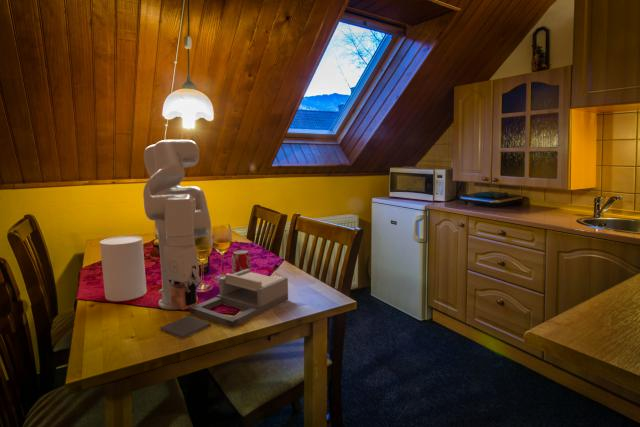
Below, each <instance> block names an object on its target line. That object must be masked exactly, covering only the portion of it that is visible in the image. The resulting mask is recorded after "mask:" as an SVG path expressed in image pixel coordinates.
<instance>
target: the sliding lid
mask: <svg viewBox="0 0 640 427" xmlns="http://www.w3.org/2000/svg"><path fill="white" fill-rule="evenodd" d="M224 277H225V282H226V283H227V284H230V285H234V286H238V287H242V288H246V289H250V290H253V291H257V288H260V287H262V286H264V285H267V284H269V283H272V282H274V281H276V280H279V279H280V278H278V277H273V276H271V275H270V276H268V275H264V274H262V273H261V274H260V273H257V272H252V271H251V272H249V273H246V274H243V275H240V276H237V275H233V274H232V273H229V272H227V273H225V274H224Z"/></svg>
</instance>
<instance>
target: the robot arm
mask: <svg viewBox="0 0 640 427" xmlns="http://www.w3.org/2000/svg"><path fill="white" fill-rule="evenodd" d="M199 149H200V148H199V147H198V144H197V143H196V142H195V141H193V140H191V139H163V140H160V141H157V142H156V143H155V144H151V145H149V146H146V148H145V150H144V151H143V161H144V166H145V169H146V172H147V174H148V175H149V178H148V179H147V181H146V183H145V185H144V187H143V192H142V197H143V208H144V213H145V216H146V218H147V219H148V220H150V221H153V222H154V228H155V232H156V236H157V237H156V238H157V242H158V248H159V258H160V272H161V289H159V290H158V294H160V295H161V298H160V299H159V300H158V302H157V303H158V307H159V308H161V309H163V310H171V311H172V310H180V309H179V308H176V307H173V306H172V300H171V286H173V285H176V284H179V283H185V287H186V291H187V292H185V300H186V306H189V305H192V304H194V303H196V291H195V290H197V289H198V287H199V286H200V284H202V279H201V277H200V267H199V266H200V265H199V259H198V254H197V249H196V242H195V238H203V237H206V236H209V235H210V233H211V231H212V223H211V222H212V221H211V217H210V212H209V207H208V204H207V200H206V196H205V193H204V190H203V189H202V188H201V187H199V186H181V182H183V180H184V178H185V175H186V174H185V169H184V168H192V167H195V166H196V165H198V163H199V161H200V150H199ZM189 283H192V284H191V285H190V286H189ZM198 301H199V299H198V296H197V302H198Z"/></svg>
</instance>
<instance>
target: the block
mask: <svg viewBox="0 0 640 427" xmlns="http://www.w3.org/2000/svg"><path fill="white" fill-rule="evenodd" d="M191 284H192V283H189V286H190V285H191ZM195 291H196V303H194V304H192V305H189V306H186V300H185V292H187V291H186V287H185V283H179V284H176V285H173V286H171V300H172V306H173V307H176V308H179V309H178V310H183V311H184V310H186V309H190V307H192V306H195V305H197V304H198V301H197V297H198V294H197V293H198V292H197V290H195Z"/></svg>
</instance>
